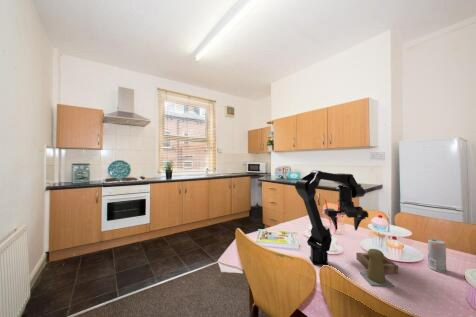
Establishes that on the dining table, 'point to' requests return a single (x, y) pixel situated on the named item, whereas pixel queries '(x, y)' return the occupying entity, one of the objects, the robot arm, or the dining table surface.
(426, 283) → the dining table surface
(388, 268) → the walnut frame
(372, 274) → the cork
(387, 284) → the rubber mat
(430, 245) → the energy drink
